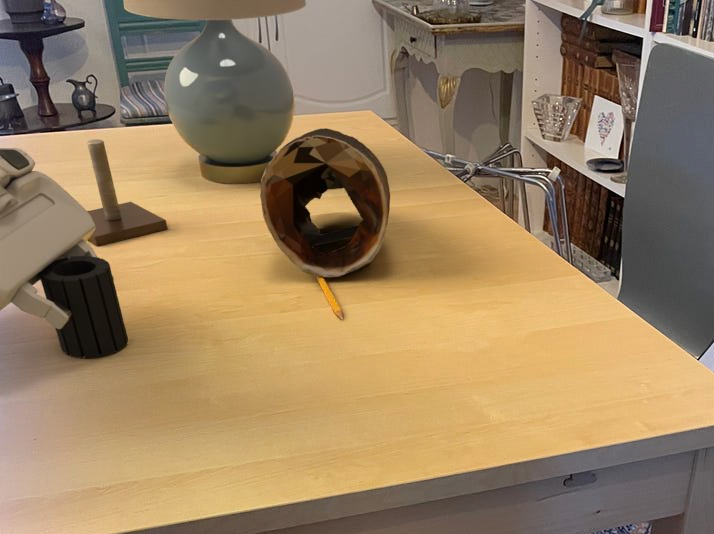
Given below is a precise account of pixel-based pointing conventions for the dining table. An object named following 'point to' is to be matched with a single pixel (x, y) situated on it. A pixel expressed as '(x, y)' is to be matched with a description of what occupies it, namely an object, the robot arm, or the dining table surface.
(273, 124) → the lamp
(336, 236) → the clay pot
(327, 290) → the pencil
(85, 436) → the dining table surface
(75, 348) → the ribbed black tube
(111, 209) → the peg stand
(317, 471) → the dining table surface
